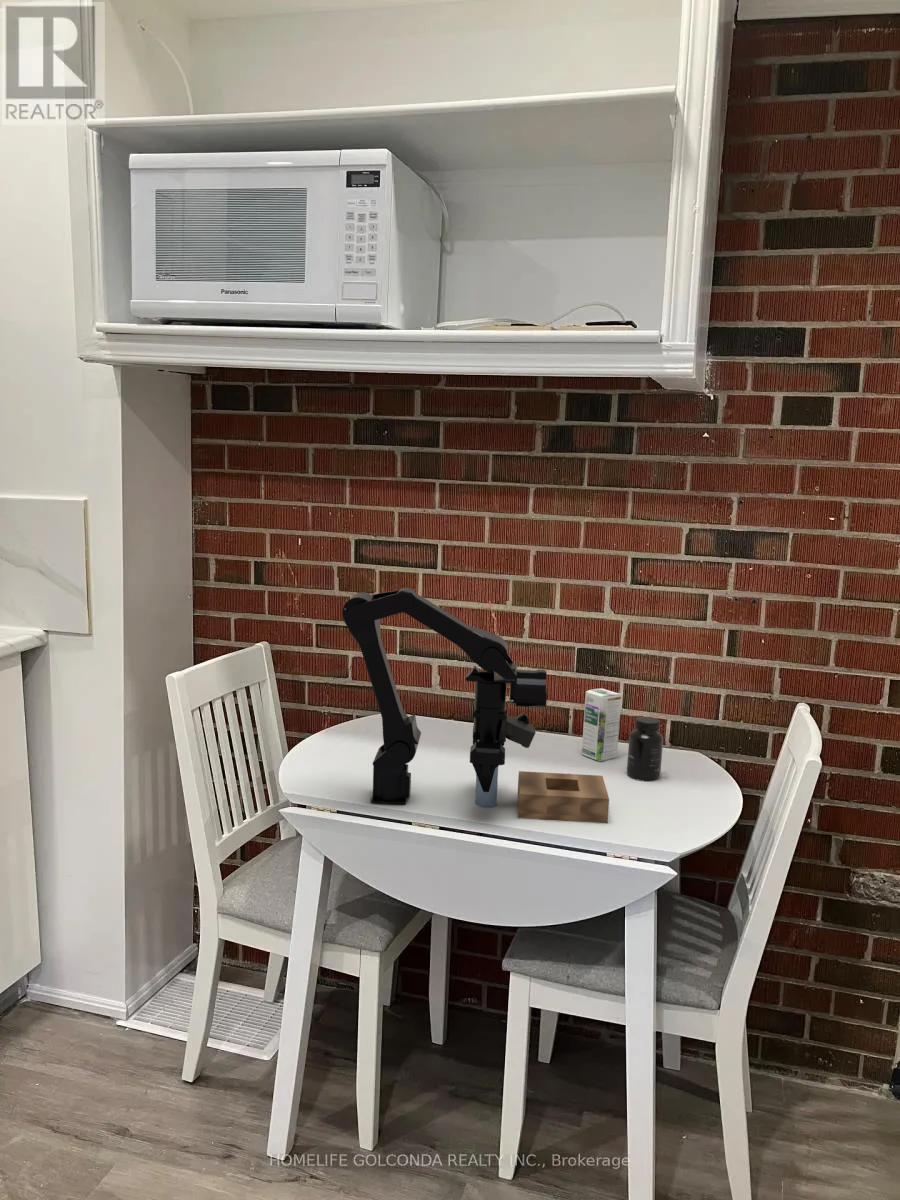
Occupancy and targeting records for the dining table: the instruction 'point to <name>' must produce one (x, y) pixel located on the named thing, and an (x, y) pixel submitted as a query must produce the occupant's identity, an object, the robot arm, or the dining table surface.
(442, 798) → the dining table surface
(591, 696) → the syrup box
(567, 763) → the dining table surface
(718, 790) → the dining table surface
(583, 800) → the socket block
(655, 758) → the supplement bottle
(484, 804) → the pin
